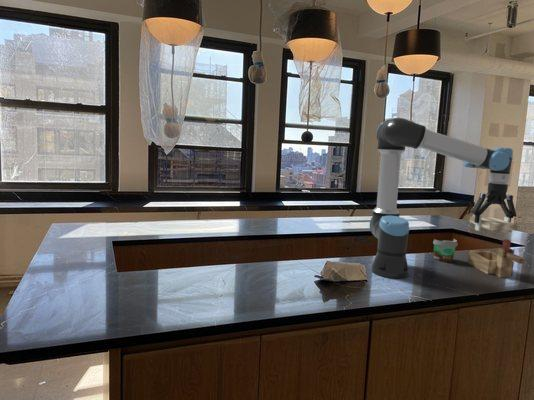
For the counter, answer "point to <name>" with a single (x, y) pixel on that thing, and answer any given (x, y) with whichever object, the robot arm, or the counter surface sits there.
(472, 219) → the cream flat piece
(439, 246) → the food container
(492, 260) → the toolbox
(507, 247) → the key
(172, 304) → the counter surface
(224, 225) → the counter surface
